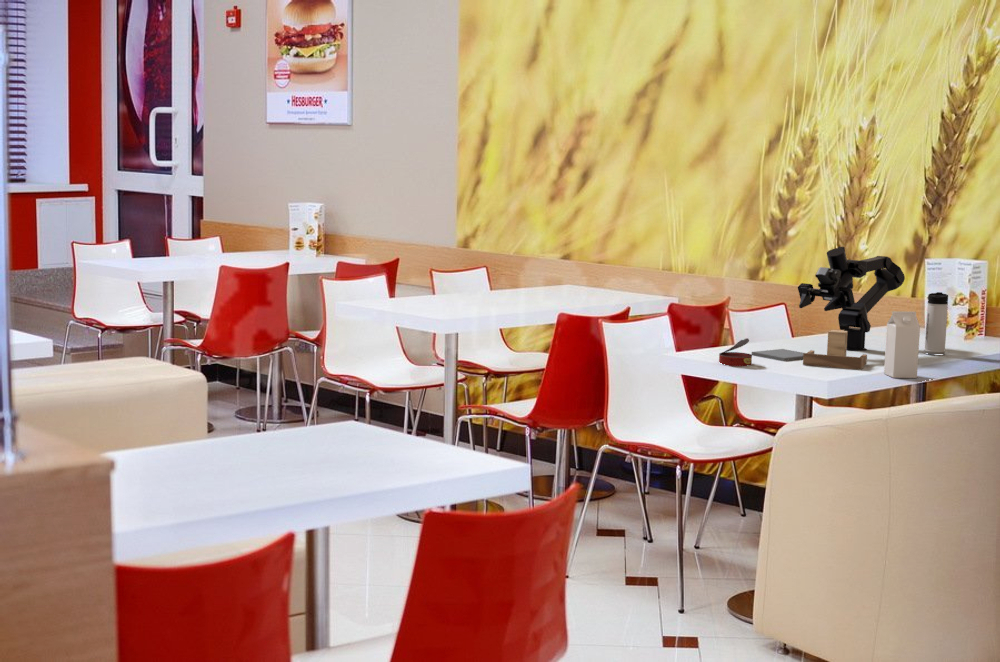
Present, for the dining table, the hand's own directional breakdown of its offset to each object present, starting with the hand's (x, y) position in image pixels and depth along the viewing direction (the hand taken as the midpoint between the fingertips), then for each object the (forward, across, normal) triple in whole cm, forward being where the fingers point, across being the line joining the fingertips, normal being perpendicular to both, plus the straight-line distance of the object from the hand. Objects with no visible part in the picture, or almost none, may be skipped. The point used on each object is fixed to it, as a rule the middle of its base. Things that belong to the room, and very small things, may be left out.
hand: (812, 308), depth 406 cm
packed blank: (+12, +13, +11) cm, 21 cm away
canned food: (+35, -6, 0) cm, 35 cm away
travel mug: (-27, +22, +31) cm, 47 cm away
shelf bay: (+14, +14, +10) cm, 22 cm away
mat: (+13, -5, +11) cm, 18 cm away
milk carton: (+17, +38, +9) cm, 42 cm away
